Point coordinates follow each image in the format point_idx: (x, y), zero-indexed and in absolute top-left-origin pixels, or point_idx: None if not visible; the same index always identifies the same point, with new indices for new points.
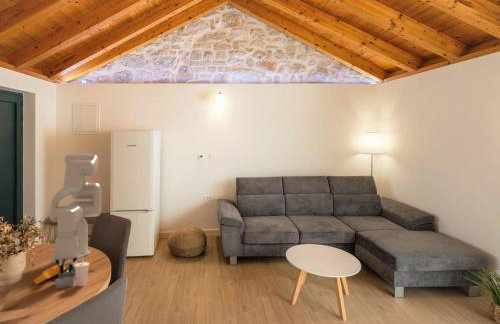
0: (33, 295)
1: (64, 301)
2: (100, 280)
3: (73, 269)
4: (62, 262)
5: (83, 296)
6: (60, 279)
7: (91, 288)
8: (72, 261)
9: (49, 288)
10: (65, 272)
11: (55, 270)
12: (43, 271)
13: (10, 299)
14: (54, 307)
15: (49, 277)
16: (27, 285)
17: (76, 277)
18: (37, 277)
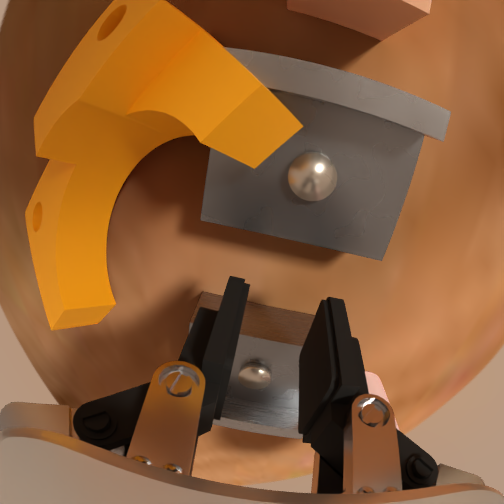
0: (99, 366)
1: (236, 464)
2: (456, 377)
3: (397, 133)
4: (202, 408)
5: (308, 466)
6: (213, 423)
7: None
8: (342, 479)
9: (158, 338)
10: (286, 187)
11: (156, 117)
12: (36, 133)
13: (27, 339)
14: (204, 470)
15: (123, 178)
16: (22, 196)
17: None
18: (31, 252)
